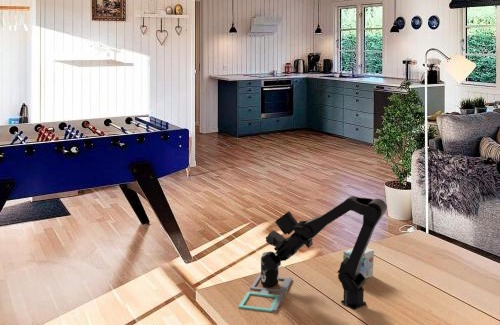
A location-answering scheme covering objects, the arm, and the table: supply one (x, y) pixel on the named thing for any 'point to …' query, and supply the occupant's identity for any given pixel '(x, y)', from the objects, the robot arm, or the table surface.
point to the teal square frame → (258, 307)
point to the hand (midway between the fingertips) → (266, 266)
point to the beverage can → (268, 275)
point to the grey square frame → (267, 288)
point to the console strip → (280, 294)
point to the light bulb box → (364, 262)
